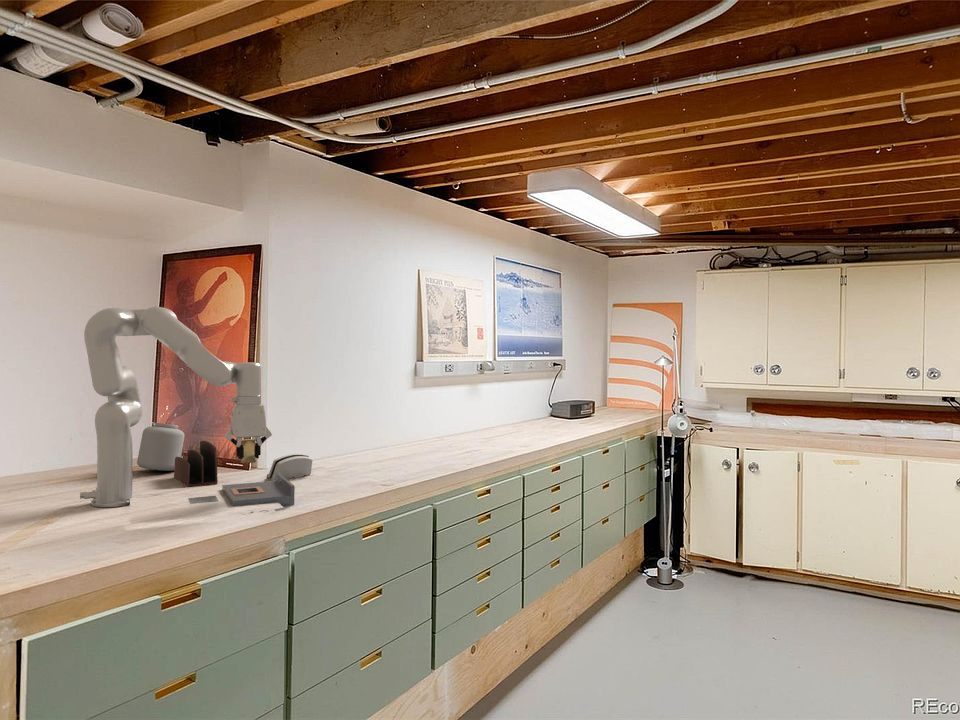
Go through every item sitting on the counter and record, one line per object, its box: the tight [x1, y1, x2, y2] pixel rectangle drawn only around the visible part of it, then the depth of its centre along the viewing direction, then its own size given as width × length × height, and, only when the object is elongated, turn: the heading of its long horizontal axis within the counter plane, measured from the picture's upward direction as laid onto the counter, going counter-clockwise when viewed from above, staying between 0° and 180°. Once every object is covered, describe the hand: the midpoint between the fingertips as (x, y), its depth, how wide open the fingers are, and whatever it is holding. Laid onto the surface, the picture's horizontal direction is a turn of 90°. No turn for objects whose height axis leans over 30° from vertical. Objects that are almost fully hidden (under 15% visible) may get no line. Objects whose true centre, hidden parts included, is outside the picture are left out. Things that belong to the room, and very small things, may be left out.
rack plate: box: [221, 472, 296, 507], centre depth 210 cm, size 18×24×6 cm
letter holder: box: [173, 440, 219, 489], centre depth 235 cm, size 10×20×14 cm, turn 38°
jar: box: [136, 405, 185, 472], centre depth 252 cm, size 19×15×25 cm
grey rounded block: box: [265, 453, 313, 481], centre depth 245 cm, size 17×5×10 cm, turn 140°
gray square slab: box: [188, 495, 220, 505], centre depth 202 cm, size 8×8×2 cm
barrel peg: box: [240, 438, 257, 464], centre depth 208 cm, size 4×4×7 cm
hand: (248, 457), depth 208 cm, fingers closed on barrel peg, 4 cm apart
